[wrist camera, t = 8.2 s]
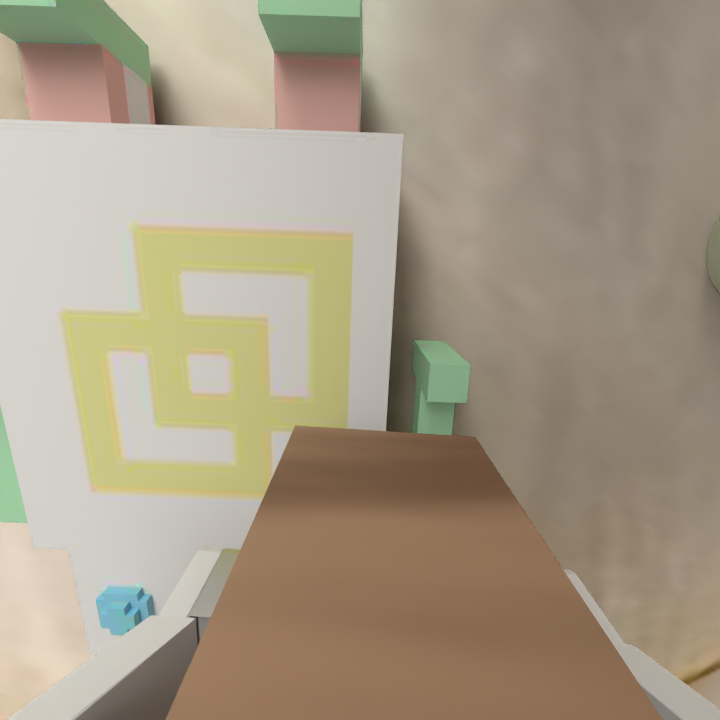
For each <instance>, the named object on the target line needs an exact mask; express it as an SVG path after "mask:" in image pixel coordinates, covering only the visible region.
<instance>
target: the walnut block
mask: <svg viewBox="0 0 720 720" xmlns="http://www.w3.org/2000/svg"><path fill="white" fill-rule="evenodd" d="M165 720H663V719H662V717H661V716H660V714H659V713H658V711H657V710H656V708H655V707H654V705H653V704H652V702H651V701H650V699H649V698H648V696H647V695H646V693H645V692H644V690H643V689H642V687H641V686H640V684H639V683H638V681H637V680H636V678H635V677H634V675H633V674H632V672H631V671H630V669H629V668H628V666H627V665H626V663H625V662H624V660H623V659H622V657H621V656H620V654H619V653H618V651H617V650H616V648H615V647H614V645H613V644H612V642H611V641H610V639H609V638H608V636H607V635H606V633H605V632H604V630H603V629H602V627H601V626H600V624H599V623H598V621H597V620H596V618H595V617H594V615H593V614H592V612H591V611H590V609H589V608H588V606H587V605H586V603H585V602H584V600H583V599H582V597H581V596H580V594H579V593H578V591H577V590H576V588H575V587H574V585H573V584H572V582H571V581H570V579H569V578H568V576H567V575H566V573H565V572H564V570H563V569H562V567H561V566H560V564H559V563H558V561H557V560H556V558H555V557H554V555H553V554H552V552H551V551H550V549H549V548H548V546H547V545H546V543H545V542H544V540H543V539H542V537H541V536H540V534H539V533H538V531H537V530H536V528H535V527H534V525H533V524H532V522H531V521H530V519H529V518H528V516H527V515H526V513H525V512H524V510H523V509H522V507H521V505H520V504H519V502H518V501H517V499H516V498H515V496H514V495H513V493H512V492H511V490H510V489H509V487H508V486H507V484H506V483H505V481H504V480H503V478H502V477H501V475H500V474H499V472H498V471H497V469H496V468H495V466H494V465H493V463H492V462H491V460H490V459H489V457H488V456H487V454H486V453H485V451H484V450H483V448H482V447H481V445H480V444H479V442H478V441H477V439H476V438H475V437H470V436H454V435H439V434H423V433H407V432H391V431H376V430H360V429H344V428H328V427H313V426H297V425H295V427H294V429H293V432H292V434H291V436H290V438H289V441H288V443H287V445H286V448H285V450H284V452H283V454H282V457H281V459H280V461H279V463H278V466H277V468H276V470H275V472H274V475H273V477H272V479H271V482H270V484H269V486H268V488H267V491H266V493H265V495H264V497H263V500H262V502H261V504H260V506H259V509H258V511H257V513H256V515H255V518H254V520H253V522H252V525H251V527H250V529H249V531H248V534H247V536H246V538H245V540H244V543H243V545H242V547H241V549H240V552H239V554H238V556H237V559H236V561H235V563H234V565H233V568H232V570H231V572H230V574H229V577H228V579H227V581H226V583H225V586H224V588H223V590H222V593H221V595H220V597H219V599H218V602H217V604H216V606H215V608H214V611H213V613H212V615H211V617H210V620H209V622H208V624H207V626H206V629H205V631H204V633H203V636H202V638H201V640H200V642H199V645H198V647H197V649H196V651H195V654H194V656H193V658H192V660H191V663H190V665H189V667H188V670H187V672H186V674H185V676H184V679H183V681H182V683H181V685H180V688H179V690H178V692H177V694H176V697H175V699H174V701H173V704H172V706H171V708H170V710H169V713H168V715H167V717H166V719H165Z"/></svg>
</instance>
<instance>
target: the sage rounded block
mask: <svg viewBox="0 0 720 720" xmlns="http://www.w3.org/2000/svg"><path fill="white" fill-rule="evenodd" d="M706 262H707V270H708V273H709V277H710V279H711V281H712V284H713V285H714V287H715V288H716V290H717V291H718V292H719V293H720V216H719V218H718V220H717V221H716V223H715V225H714V227H713V230H712V232H711V235H710V238H709V242H708V247H707V259H706Z"/></svg>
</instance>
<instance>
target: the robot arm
mask: <svg viewBox="0 0 720 720" xmlns="http://www.w3.org/2000/svg"><path fill="white" fill-rule="evenodd" d="M239 552H240V549H228V548H225V549H221V548H211V547H202V548H201V549H200V550H199V551H197V552H196V554H195V556H194V557H193V559H192V561H191V563H190V564H189V566H188V568H187V569H186V571H185V573H184V574H183V576H182V578H181V579H180V581H179V583H178V584H177V586H176V588H175V589H174V591H173V593H172V594H171V596H170V598H169V599H168V601H167V603H166V604H165V606H164V608H163V609H162V611H161V613H160V614H159V615H151V616H149V617H148V618H147V619H145V620H144V621H142V622H141V623H140V624H138V625H137V626H135V627H134V628H133V629H131V630H130V631H129V632H127V633H126V634H124V635H123V636H122V637H120V638H119V639H117V640H116V641H115V642H113V643H112V644H110V645H109V646H108V647H106V648H105V649H103V650H102V651H101V652H99V653H98V654H96V655H95V656H94V657H92V658H91V659H90V660H88V661H87V662H85V663H84V664H83V665H81V666H80V667H78V668H77V669H76V670H74V671H73V672H71V673H70V674H69V675H67V676H66V677H64V678H63V679H62V680H60V681H59V682H58V683H56V684H55V685H53V686H52V687H51V688H49V689H48V690H46V691H45V692H44V693H42V694H41V695H39V696H38V697H37V698H35V699H34V700H32V701H31V702H30V703H28V704H27V705H26V706H24V707H23V708H21V709H20V710H19V711H17V712H16V713H14V714H13V715H12V716H10V717H9V718H7V719H6V720H165V719H166V717H167V715H168V713H169V710H170V708H171V706H172V704H173V701H174V699H175V697H176V694H177V692H178V690H179V688H180V685H181V683H182V681H183V679H184V676H185V674H186V672H187V670H188V667H189V665H190V663H191V660H192V658H193V656H194V654H195V651H196V649H197V647H198V645H199V642H200V640H201V638H202V636H203V633H204V631H205V629H206V626H207V624H208V622H209V620H210V617H211V615H212V613H213V611H214V608H215V606H216V604H217V602H218V599H219V597H220V595H221V593H222V590H223V588H224V586H225V583H226V581H227V579H228V577H229V574H230V572H231V570H232V568H233V565H234V563H235V561H236V559H237V556H238V554H239ZM563 570H564V572H565V573H566V575H567V576H568V578H569V579H570V581H571V582H572V584H573V585H574V587H575V588H576V590H577V591H578V593H579V594H580V596H581V597H582V599H583V600H584V602H585V603H586V605H587V606H588V608H589V609H590V611H591V612H592V614H593V615H594V617H595V618H596V620H597V621H598V623H599V624H600V626H601V627H602V629H603V630H604V632H605V633H606V635H607V636H608V638H609V639H610V641H611V642H612V644H613V645H614V647H615V648H616V650H617V651H618V653H619V654H620V656H621V657H622V659H623V660H624V662H625V663H626V665H627V666H628V668H629V669H630V671H631V672H632V674H633V675H634V677H635V678H636V680H637V681H638V683H639V684H640V686H641V687H642V689H643V690H644V692H645V693H646V695H647V696H648V698H649V699H650V701H651V702H652V704H653V705H654V707H655V708H656V710H657V711H658V713H659V714H660V716H661V717H662V719H663V720H720V709H719V708H717V707H716V706H715V705H713V704H712V703H711V702H709V701H708V700H707V699H705V698H704V697H703V696H701V695H700V694H699V693H697V692H696V691H695V690H693V689H692V688H691V687H689V686H688V685H687V684H685V683H684V682H683V681H681V680H680V679H679V678H677V677H676V676H675V675H673V674H672V673H671V672H669V671H668V670H667V669H665V668H664V667H663V666H661V665H660V664H658V663H657V662H656V661H654V660H653V659H652V658H650V657H649V656H648V655H646V654H645V653H644V652H642V651H641V650H640V649H638V648H637V647H636V646H634V645H630V644H625V643H624V641H623V640H622V638H621V637H620V636H619V634H618V633H617V631H616V630H615V629H614V627H613V626H612V624H611V623H610V621H609V620H608V619H607V617H606V616H605V614H604V613H603V612H602V610H601V609H600V607H599V606H598V604H597V603H596V602H595V600H594V599H593V597H592V596H591V595H590V593H589V592H588V590H587V589H586V587H585V586H584V585H583V583H582V582H581V580H580V579H579V578H578V576H577V575H576V574H575V573H574V572H573V571H571V570H567V569H563Z"/></svg>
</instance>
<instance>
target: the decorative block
mask: <svg viewBox="0 0 720 720" xmlns="http://www.w3.org/2000/svg"><path fill="white" fill-rule="evenodd" d="M258 14H259V16H260V19H261V21H262V23H263V26H264V28H265V31H266V33H267V35H268V38H269V40H270V43H271V45H272V47H273V50H274V70H275V118H276V129H263V128H235V127H208V126H180V125H156V124H155V114H154V104H153V93H152V83H151V73H150V62H149V52H148V46H147V45H146V44H145V43H144V42H143V41H142V39H141V38H140V37H139V36H138V35H137V34H136V33H135V32H134V31H133V30H132V29H131V28H130V27H129V26H128V25H127V24H126V23H125V22H124V21H123V20H122V19H121V18H120V17H119V16H118V15H117V14H116V13H115V12H114V11H113V10H112V9H111V8H110V7H109V6H108V5H107V4H106V3H105V2H104V1H103V0H0V32H1V33H3V34H4V35H6V36H7V37H9V38H10V39H12V40H13V41H15V42H16V46H17V52H18V57H19V63H20V69H21V74H22V80H23V86H24V92H25V97H26V103H27V109H28V114H29V120H14V119H0V522H16V523H28V525H29V530H30V534H31V538H32V542H33V547H34V548H35V549H59V550H68V551H69V556H70V561H71V566H72V570H73V575H74V580H75V585H76V590H77V595H78V600H79V604H80V609H81V614H82V619H83V624H84V629H85V634H86V638H87V643H88V648H89V653H90V654H98V653H99V652H101V651H102V650H103V649H105V648H106V647H108V646H109V645H110V644H112V643H113V642H115V641H116V640H117V639H119V638H120V637H122V636H123V635H124V634H126V633H127V632H129V631H130V630H131V629H133V628H134V627H135V626H137V625H138V624H140V623H141V622H142V621H144V620H145V619H147V618H148V617H149V616H151V615H159V614H160V613H161V611H162V609H163V608H164V606H165V604H166V603H167V601H168V599H169V598H170V596H171V594H172V593H173V591H174V589H175V588H176V586H177V584H178V583H179V581H180V579H181V578H182V576H183V574H184V573H185V571H186V569H187V568H188V566H189V564H190V563H191V561H192V559H193V557H194V556H195V554H196V552H197V551H199V550H200V549H201V548H202V547H211V548H221V549H225V548H228V549H241V547H242V545H243V543H244V540H245V538H246V536H247V534H248V531H249V529H250V527H251V525H252V522H253V520H254V518H255V515H256V513H257V511H258V509H259V506H260V504H261V502H262V500H263V497H264V495H265V493H266V491H267V488H268V486H269V484H270V482H271V479H272V477H273V475H274V472H275V470H276V468H277V466H278V463H279V461H280V459H281V457H282V454H283V452H284V450H285V448H286V445H287V443H288V441H289V438H290V436H291V434H292V432H293V429H294V427H295V425H297V426H313V427H328V428H344V429H360V430H376V431H386V421H387V404H388V388H389V371H390V354H391V337H392V320H393V304H394V287H395V270H396V253H397V237H398V220H399V203H400V186H401V169H402V153H403V136H404V134H401V133H374V132H360V119H361V88H362V57H363V44H362V0H258ZM412 370H413V372H414V375H415V377H416V385H415V398H414V410H413V423H412V433H423V434H439V435H452V427H453V418H454V409H455V403H467V395H468V387H469V378H470V370H471V365H470V364H469V363H468V362H467V361H466V360H465V359H464V358H463V357H462V356H460V355H459V354H458V353H457V352H456V351H455V350H454V349H453V348H452V347H451V346H449V345H448V344H447V343H446V342H445V341H432V340H414V348H413V361H412Z"/></svg>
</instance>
